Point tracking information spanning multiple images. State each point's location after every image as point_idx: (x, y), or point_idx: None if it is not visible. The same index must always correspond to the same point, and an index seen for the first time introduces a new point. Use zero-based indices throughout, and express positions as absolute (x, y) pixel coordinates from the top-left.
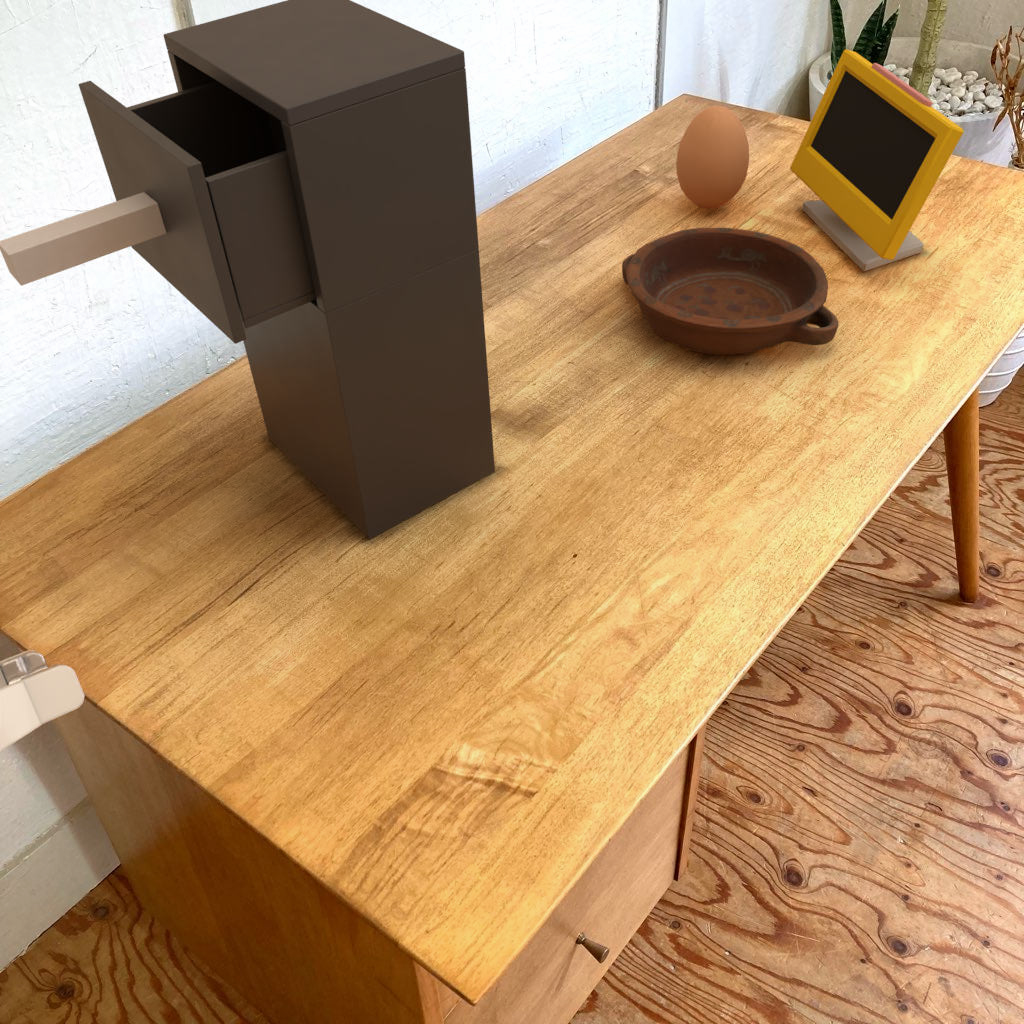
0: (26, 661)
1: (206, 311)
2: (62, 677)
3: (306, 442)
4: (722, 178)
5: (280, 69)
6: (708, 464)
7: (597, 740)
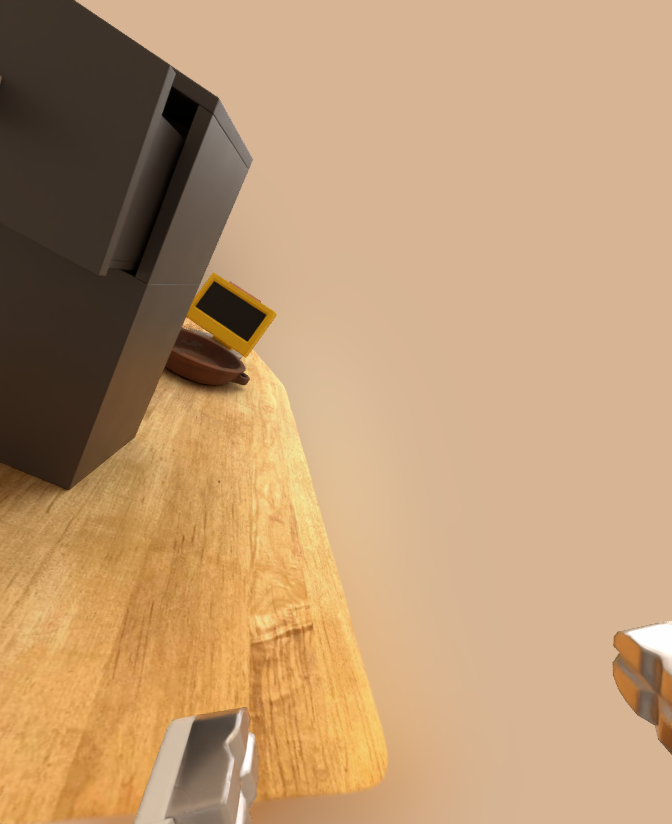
0: (235, 747)
1: (37, 231)
2: None
3: None
4: None
5: None
6: (239, 432)
7: (310, 579)
